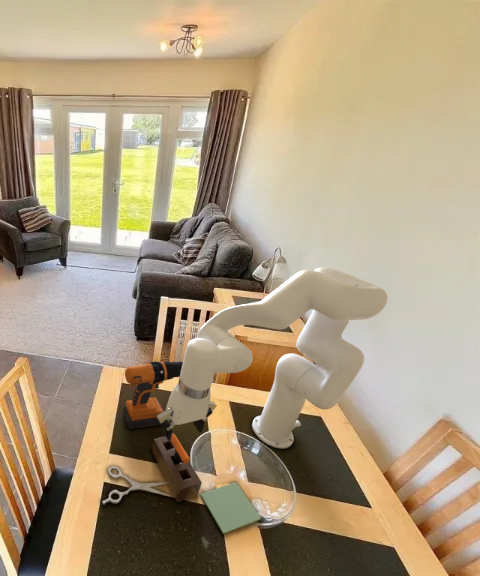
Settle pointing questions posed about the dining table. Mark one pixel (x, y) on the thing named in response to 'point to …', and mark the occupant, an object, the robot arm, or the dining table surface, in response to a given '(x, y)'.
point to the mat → (230, 507)
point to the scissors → (134, 487)
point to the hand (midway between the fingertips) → (182, 431)
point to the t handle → (179, 451)
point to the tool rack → (176, 470)
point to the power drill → (147, 391)
